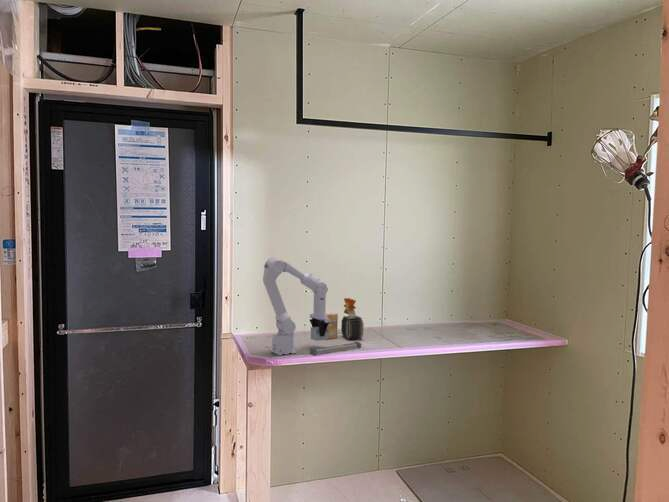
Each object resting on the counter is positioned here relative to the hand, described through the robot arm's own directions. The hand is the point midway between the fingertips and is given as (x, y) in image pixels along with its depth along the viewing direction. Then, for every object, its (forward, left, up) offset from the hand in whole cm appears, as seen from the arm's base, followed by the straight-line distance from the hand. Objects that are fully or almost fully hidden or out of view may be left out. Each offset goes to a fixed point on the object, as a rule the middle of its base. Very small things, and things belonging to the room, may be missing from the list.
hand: (319, 335), depth 228 cm
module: (0, 0, -2) cm, 2 cm away
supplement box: (+16, +16, -7) cm, 24 cm away
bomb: (+27, +11, -7) cm, 30 cm away
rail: (+5, -7, -7) cm, 11 cm away
